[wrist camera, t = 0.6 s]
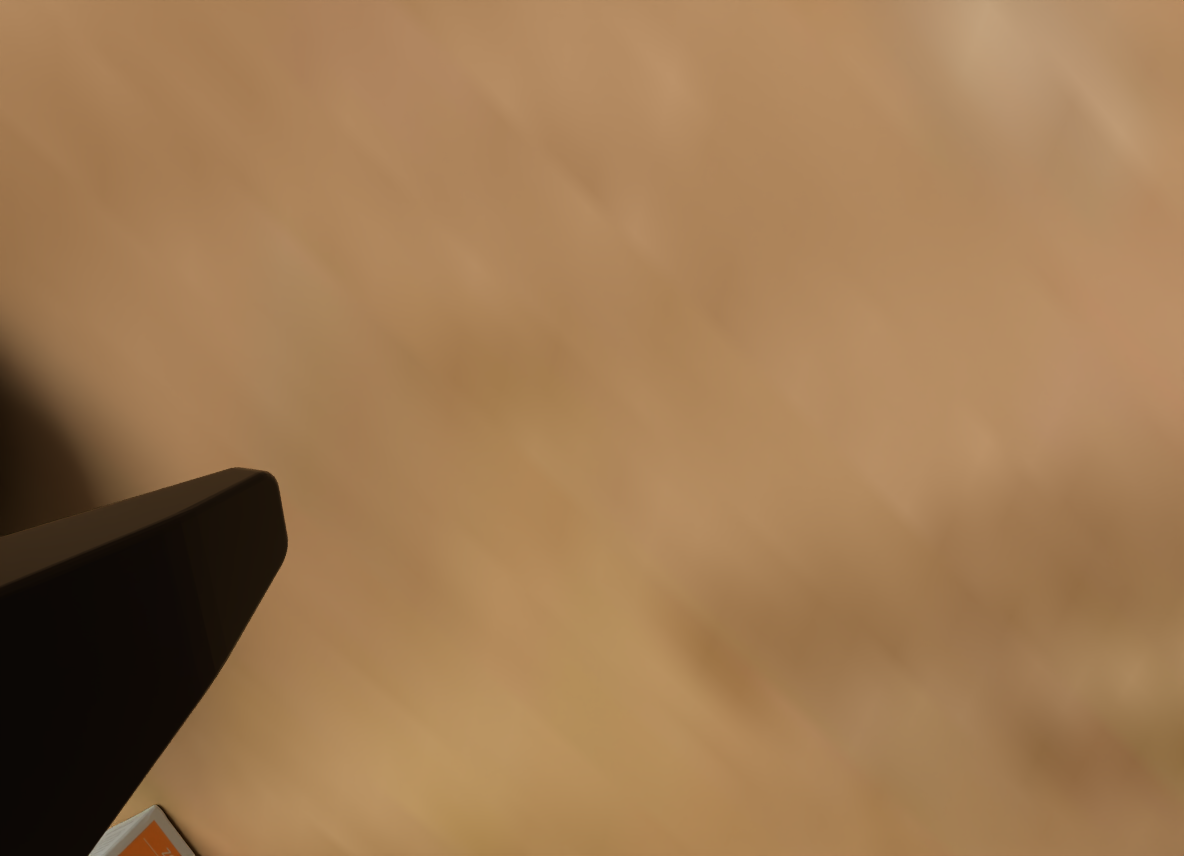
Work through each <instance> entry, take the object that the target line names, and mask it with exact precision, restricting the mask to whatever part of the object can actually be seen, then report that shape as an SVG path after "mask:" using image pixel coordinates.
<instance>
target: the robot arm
mask: <svg viewBox="0 0 1184 856" xmlns="http://www.w3.org/2000/svg"><path fill="white" fill-rule="evenodd" d="M287 547H288V537H287V531H286V525H285V519H284V514H283V508H282V502H281V497H280V491H279V486H278V482H277V480H276V479H275V477H274V476H273V475H272V474H271V473H269V472H267V471H262V470H255V469H248V468H240V467H235V468H230V469H226V470H223V471H220V472H216V473H213V474H210V475H206V476H203V477H200V478H196V479H193V480H190V481H186V482H183V483H179V484H176V485H173V486H169V487H166V488H163V489H159V490H156V491H153V492H149V493H146V494H143V495H139V496H136V497H133V498H129V499H126V500H123V501H119V502H116V503H113V504H109V505H106V506H103V507H99V508H96V509H93V510H89V511H86V512H83V513H79V514H76V515H73V516H69V517H66V518H62V519H59V520H56V521H52V522H49V523H46V524H42V525H39V526H36V527H32V528H29V529H26V530H22V531H19V532H16V533H12V534H9V535H6V536H2V537H0V856H89V854H90V853H91V852H92V850H93V849H94V847H95V846H96V845H97V843H98V842H99V840H100V839H101V838H102V836H103V835H104V833H105V832H106V831H107V829H108V828H109V827H110V825H111V824H112V822H113V821H114V820H115V818H116V817H117V815H118V814H119V813H120V811H121V810H122V808H123V807H124V806H125V804H126V803H127V802H128V800H129V799H130V797H131V796H132V795H133V793H134V792H135V790H136V789H137V788H138V786H139V785H140V783H141V782H142V781H143V779H144V778H145V777H146V775H147V774H148V772H149V771H150V770H151V768H152V767H153V765H154V764H155V763H156V761H157V760H158V758H159V757H160V756H161V754H162V753H163V752H164V750H165V749H166V747H167V746H168V745H169V743H170V742H171V740H172V739H173V738H174V736H175V735H176V733H177V732H178V731H179V729H180V728H181V727H182V725H183V724H184V722H185V721H186V720H187V718H188V717H189V715H190V714H191V713H192V711H193V710H194V708H195V707H196V706H197V704H198V703H199V702H200V700H201V699H202V697H203V696H204V695H205V693H206V692H207V690H208V689H209V687H210V686H211V684H212V683H213V681H214V680H215V678H216V677H217V675H218V674H219V672H220V670H221V669H222V667H223V665H224V664H225V662H226V661H227V659H228V657H229V656H230V654H231V652H232V650H233V649H234V647H235V645H236V644H237V642H238V640H239V638H240V637H241V635H242V633H243V631H244V630H245V628H246V626H247V624H248V623H249V621H250V619H251V617H252V616H253V614H254V612H255V611H256V609H257V607H258V605H259V604H260V602H261V600H262V598H263V597H264V595H265V593H266V591H267V590H268V588H269V586H270V584H271V583H272V581H273V579H274V577H275V576H276V574H277V572H278V571H279V569H280V567H281V565H282V563H283V561H284V559H285V556H286V552H287Z"/></svg>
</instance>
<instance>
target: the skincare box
mask: <svg viewBox="0 0 1184 856" xmlns="http://www.w3.org/2000/svg"><path fill="white" fill-rule="evenodd" d="M89 856H195V854H194V853H193V852H192V850H191V849H190V848H189V846H188V845H187V844H186V842H185V841H184V840H183V838H182V837H181V836H180V834H179V833H178V832H177V831H176V829H175V828H174V827H173V825H172V824H171V823H170V821H169V820H168V819H167V817H166V815H165V814H164V812H163V811H162V810H161V809H160V808H159V807H158V806H157V805H153V806H151V807H150V808H148V809H146V810H144V811H143V812H141V813H139V814H137V815H135V816H133V817H132V818H130V819H128V820H126V821H124V822H122V823H120V824H118V825H116V826H114V827H112V828H110V829H108V830H107V831H106V832H105V833H104V835H103V836H102V838H101V839H100V840H99V842H98V843H97V845H96V846H95V847H94V849H93V850H92V852H91V853H90V854H89Z"/></svg>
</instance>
